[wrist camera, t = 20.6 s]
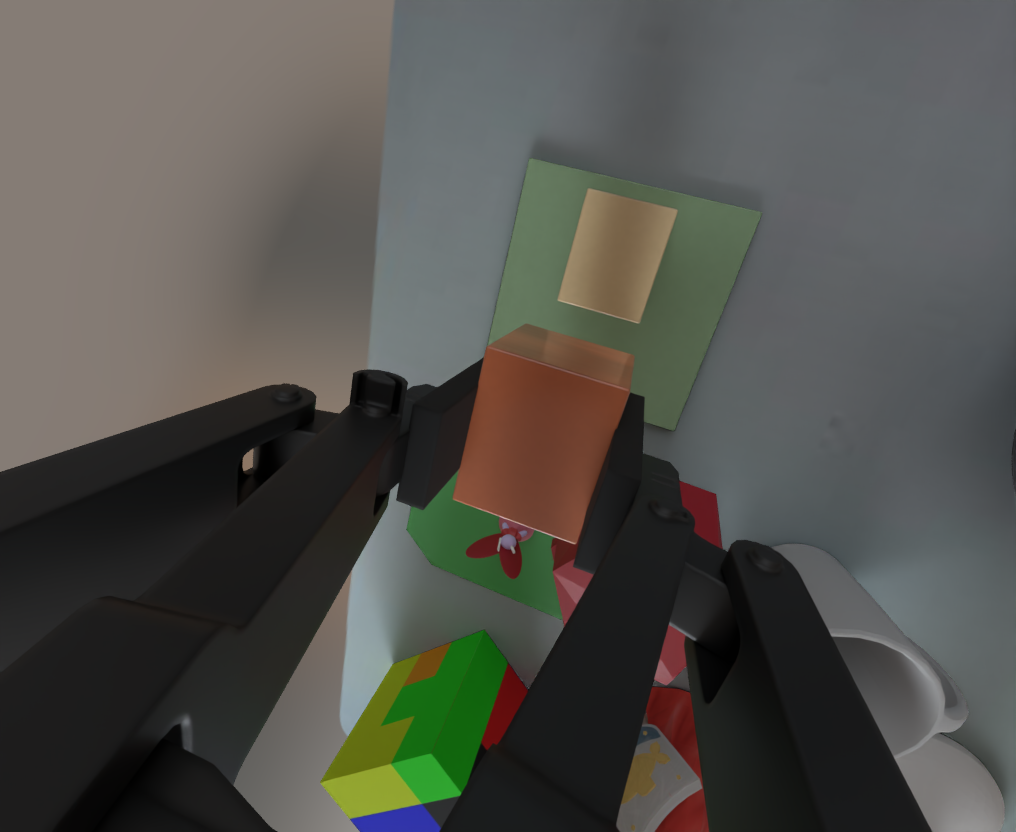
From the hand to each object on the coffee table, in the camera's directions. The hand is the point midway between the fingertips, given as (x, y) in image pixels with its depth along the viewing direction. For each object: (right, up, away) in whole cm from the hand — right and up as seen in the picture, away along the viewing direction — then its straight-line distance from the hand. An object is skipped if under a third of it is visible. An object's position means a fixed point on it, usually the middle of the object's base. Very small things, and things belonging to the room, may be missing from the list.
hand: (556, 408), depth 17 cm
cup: (+17, -11, +12) cm, 23 cm away
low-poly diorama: (+2, -7, +16) cm, 17 cm away
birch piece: (+4, +8, +9) cm, 13 cm away
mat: (+4, +6, +10) cm, 12 cm away
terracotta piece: (0, 0, +1) cm, 1 cm away
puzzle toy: (-5, -23, +23) cm, 33 cm away
